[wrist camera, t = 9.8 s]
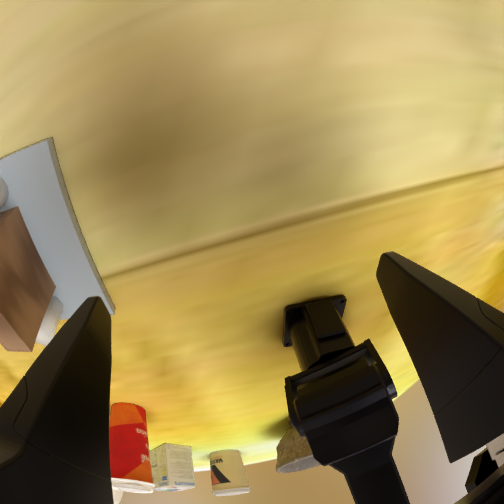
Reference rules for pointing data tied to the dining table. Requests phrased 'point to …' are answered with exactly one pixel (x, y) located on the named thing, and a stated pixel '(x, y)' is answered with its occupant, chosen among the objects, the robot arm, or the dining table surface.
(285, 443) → the bowl
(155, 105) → the dining table surface
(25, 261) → the brown box shape
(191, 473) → the light bulb box
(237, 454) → the coffee cup
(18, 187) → the wall panel
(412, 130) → the dining table surface
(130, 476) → the paper cup
